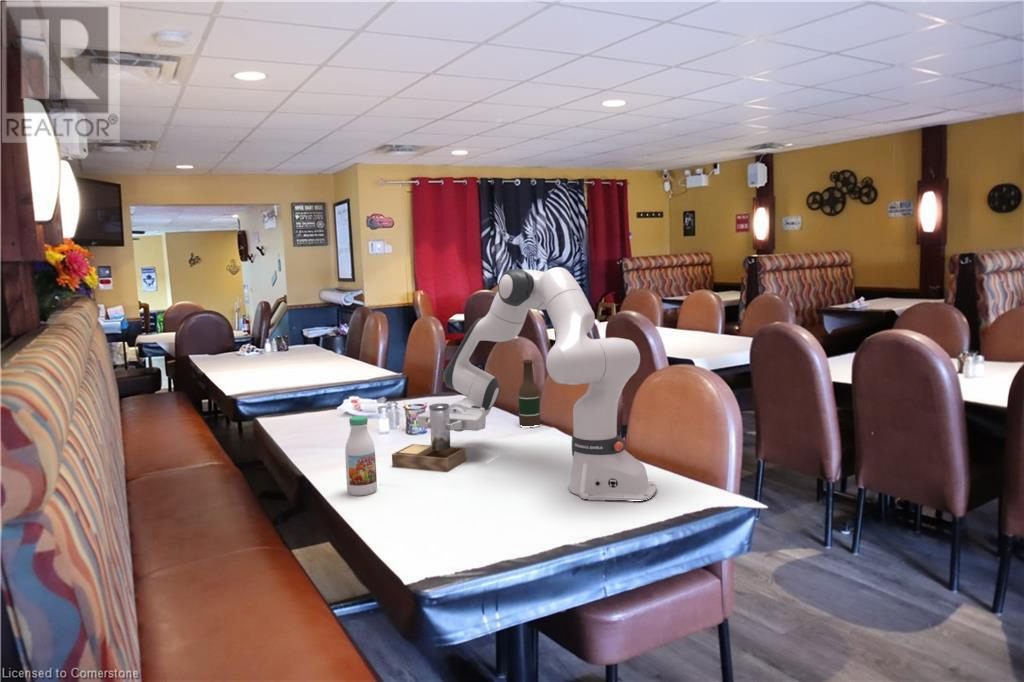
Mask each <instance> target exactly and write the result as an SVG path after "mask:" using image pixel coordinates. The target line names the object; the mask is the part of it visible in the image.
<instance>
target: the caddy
mask: <svg viewBox="0 0 1024 682" xmlns="http://www.w3.org/2000/svg"><path fill="white" fill-rule="evenodd" d="M413 445H419V444H418V443H415V444H414V443H411V444H410V445H408V446H405V447H404V448H401V449H399V450H398V451H394V452H393V453H392V454H391V461H392V462H391V464H392V468H400V469H402V468H403V469H410V470H411V469H412V470H420V471H421V470H422V471H432V472H433V471H434V472H443V473H448V472H450V471H452V470H454V469H455V468H457V467H458V466H460V465H461V464H463V463H464V462H466V461H467V455H466V454H467V453H466V451H467V449H466V447H455V446H454V447H453V446H451V448H450V449H448V450H442V451H436V450H432V451H430V452H428V453H426V454H424V455H423V456H415V455H404V454H399V452H401V451H403V450H405V449H407V448H409V447H411V446H413ZM424 445H425V446H431V444H430V445H428V444H424Z"/></svg>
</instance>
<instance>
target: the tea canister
mask: <svg viewBox="0 0 1024 682" xmlns="http://www.w3.org/2000/svg"><path fill="white" fill-rule="evenodd" d="M449 406H450V404H448V403H442V402H441V403H439V402H438V403H433V404H432V403H431V404H429V405H428V408H429V411H430V430H429V431H430V446H431V449H432V450H436V451H442V450H448V449H450V448H451V447H452V446H451V430H447V428H448V427H447V424H449V423H450V421H449Z"/></svg>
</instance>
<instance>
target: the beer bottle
mask: <svg viewBox="0 0 1024 682" xmlns="http://www.w3.org/2000/svg"><path fill="white" fill-rule="evenodd" d="M533 361H534V360H532V359H524V360H522V364H523V373H522V382H521V384H520V386H519V389H518V395H517V396H518V397H517V398H518V422H519V423H518V424H519V426H520V425H522V426H534V425H541V415H540V414H541V413H540V412H541V411H540V409H541V408H540V407H541V406H540V391H539V388H538V385H537V384H536V383H535V380H534V379H535V378H534V369H533V363H534V362H533Z"/></svg>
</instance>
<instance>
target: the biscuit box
mask: <svg viewBox="0 0 1024 682" xmlns="http://www.w3.org/2000/svg"><path fill="white" fill-rule="evenodd" d="M425 445H426V444H418V445H413V446H411V447H409V448H407V449H405V450H403V451H401V452H399V454H404V455H415V456H423V455H424V454H426V453H428V452H430V451H432V449H431V445H430V446H425Z"/></svg>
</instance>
